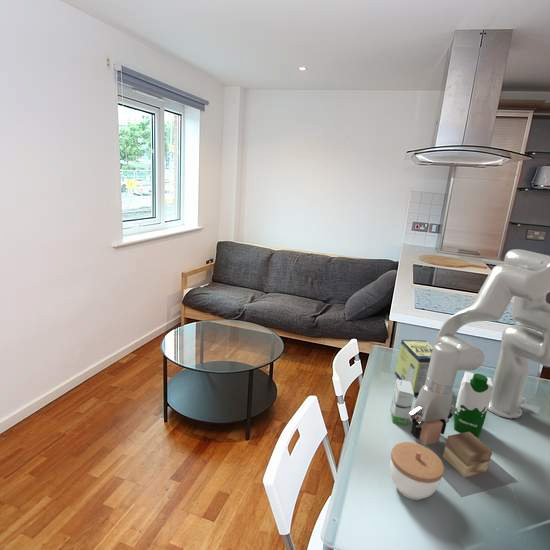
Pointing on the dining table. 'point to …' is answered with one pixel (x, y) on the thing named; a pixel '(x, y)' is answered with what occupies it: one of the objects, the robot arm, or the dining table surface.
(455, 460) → the oak slab
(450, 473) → the rubber mat
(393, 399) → the ink box
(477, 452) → the walnut slab
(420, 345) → the protein box
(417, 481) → the lidded bowl
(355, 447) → the dining table surface
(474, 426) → the milk carton
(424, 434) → the terracotta block
